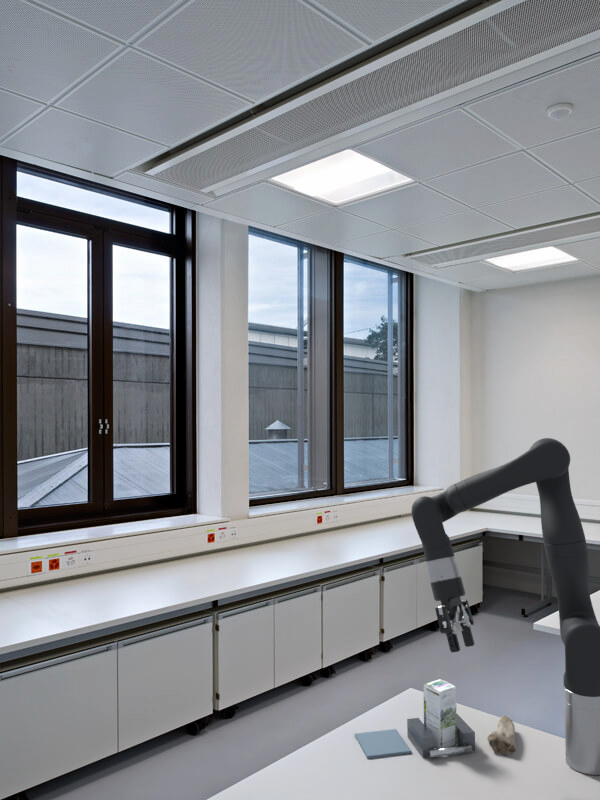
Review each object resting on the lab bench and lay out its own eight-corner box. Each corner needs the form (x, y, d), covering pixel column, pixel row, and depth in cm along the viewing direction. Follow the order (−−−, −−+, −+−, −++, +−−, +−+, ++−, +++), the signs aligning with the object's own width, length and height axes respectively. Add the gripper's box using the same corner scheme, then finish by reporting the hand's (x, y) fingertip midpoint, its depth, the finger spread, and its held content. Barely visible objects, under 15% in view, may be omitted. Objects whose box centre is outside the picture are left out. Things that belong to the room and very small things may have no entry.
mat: (395, 731, 162) (395, 728, 162) (411, 753, 151) (411, 750, 151) (354, 736, 160) (354, 733, 160) (367, 758, 149) (367, 756, 149)
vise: (457, 731, 162) (456, 713, 162) (478, 754, 150) (477, 735, 150) (407, 737, 159) (407, 719, 159) (425, 761, 148) (424, 741, 148)
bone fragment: (514, 758, 149) (513, 738, 149) (486, 752, 152) (485, 732, 152) (524, 733, 161) (523, 715, 161) (498, 728, 164) (497, 710, 164)
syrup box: (439, 735, 160) (438, 677, 160) (457, 745, 155) (456, 685, 155) (423, 742, 156) (422, 683, 157) (441, 752, 151) (440, 691, 152)
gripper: (447, 577, 146) (466, 651, 140) (470, 573, 157) (489, 642, 152) (418, 583, 150) (435, 656, 144) (443, 579, 161) (460, 646, 156)
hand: (463, 648), depth 148 cm, fingers open, 8 cm apart
